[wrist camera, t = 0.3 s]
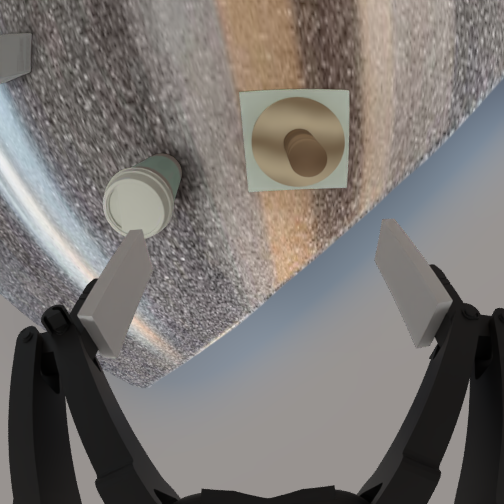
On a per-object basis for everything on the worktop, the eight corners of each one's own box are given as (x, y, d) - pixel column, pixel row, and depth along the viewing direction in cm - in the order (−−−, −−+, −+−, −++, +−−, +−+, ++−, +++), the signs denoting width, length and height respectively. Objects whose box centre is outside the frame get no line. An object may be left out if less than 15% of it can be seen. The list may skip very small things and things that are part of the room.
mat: (239, 92, 33) (239, 92, 32) (347, 90, 32) (349, 90, 31) (248, 189, 41) (248, 192, 40) (345, 185, 40) (346, 187, 39)
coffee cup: (152, 132, 36) (116, 158, 26) (202, 165, 39) (184, 202, 29) (126, 179, 40) (89, 218, 30) (172, 209, 43) (148, 256, 33)
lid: (247, 99, 33) (245, 106, 26) (341, 97, 32) (364, 105, 25) (255, 185, 39) (255, 213, 33) (340, 181, 39) (358, 208, 32)
